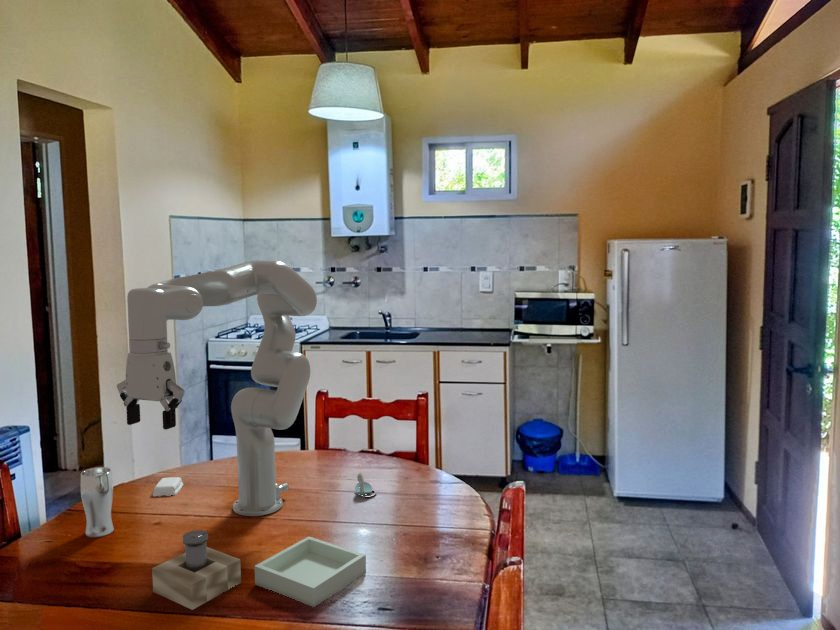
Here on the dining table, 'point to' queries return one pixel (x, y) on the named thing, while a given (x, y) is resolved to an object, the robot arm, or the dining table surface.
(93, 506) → the beer glass
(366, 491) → the pacifier
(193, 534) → the steel pin
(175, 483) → the soap
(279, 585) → the tray
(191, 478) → the dining table surface
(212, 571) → the pin block
